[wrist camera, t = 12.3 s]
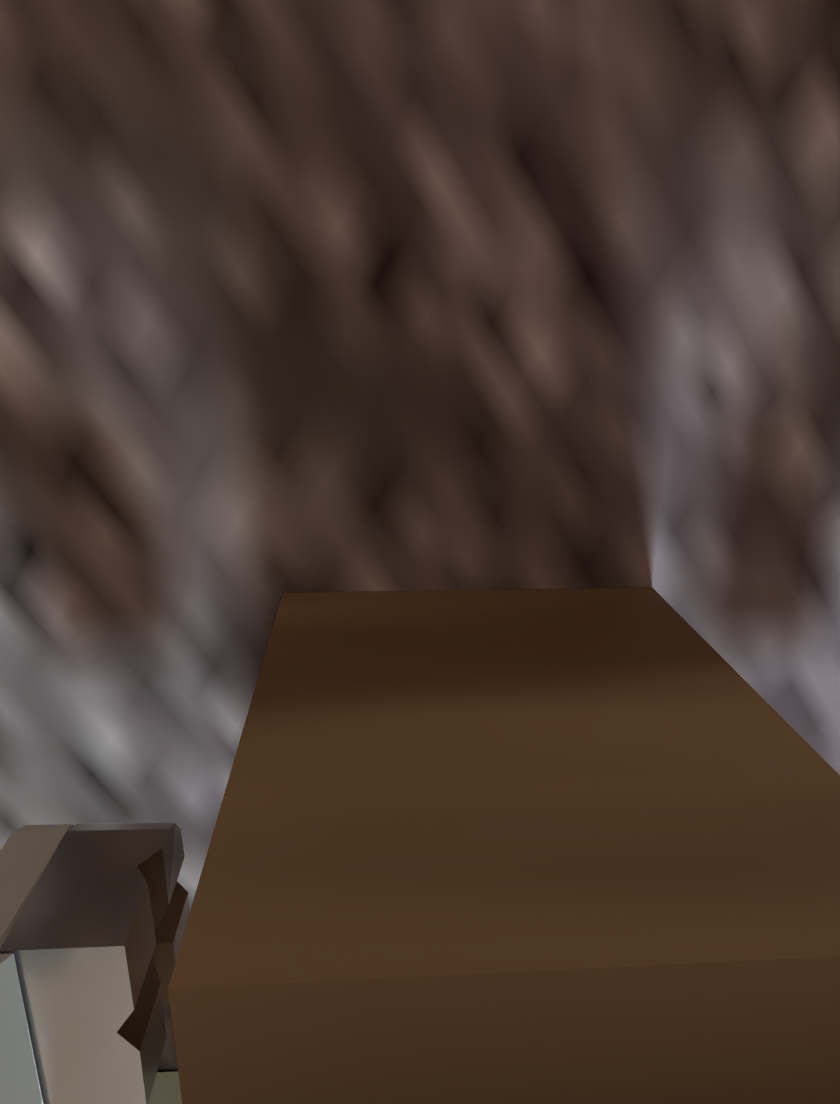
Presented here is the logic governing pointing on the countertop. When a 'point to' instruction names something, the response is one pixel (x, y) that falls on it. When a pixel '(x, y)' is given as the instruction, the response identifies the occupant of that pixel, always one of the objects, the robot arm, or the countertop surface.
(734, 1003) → the block
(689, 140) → the countertop surface
